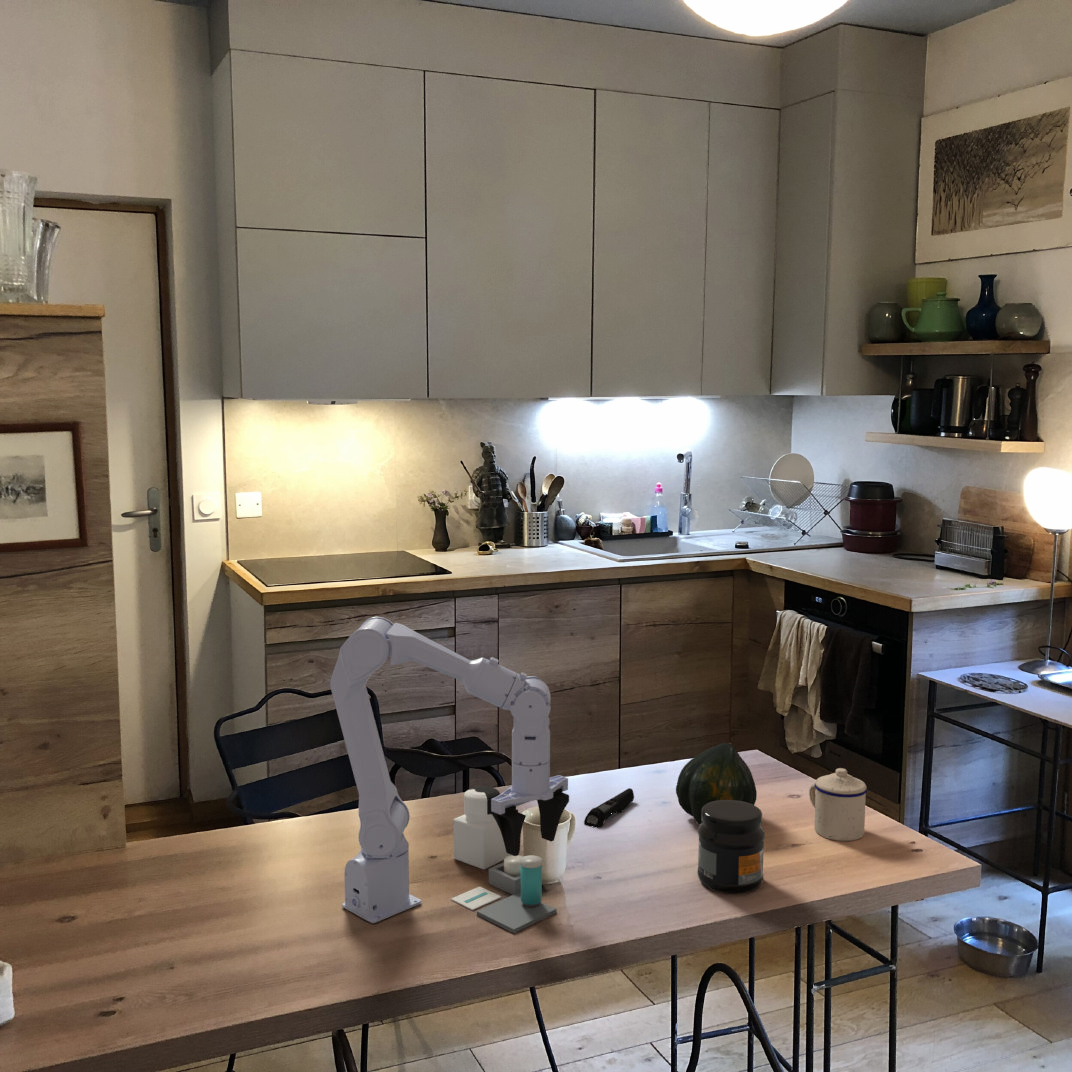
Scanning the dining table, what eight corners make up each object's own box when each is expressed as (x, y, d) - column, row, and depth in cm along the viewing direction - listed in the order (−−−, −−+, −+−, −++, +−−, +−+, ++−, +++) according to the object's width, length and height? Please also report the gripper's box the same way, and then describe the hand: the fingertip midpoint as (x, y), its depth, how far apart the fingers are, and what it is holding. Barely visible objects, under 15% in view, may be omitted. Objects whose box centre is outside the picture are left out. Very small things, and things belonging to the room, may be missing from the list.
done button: (514, 882, 170) (515, 866, 170) (499, 875, 173) (499, 859, 172) (531, 875, 173) (531, 859, 172) (515, 868, 175) (515, 853, 175)
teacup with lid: (876, 836, 192) (879, 773, 191) (838, 846, 188) (841, 781, 186) (827, 813, 202) (830, 753, 201) (791, 822, 198) (793, 761, 197)
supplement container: (777, 886, 172) (779, 814, 171) (726, 902, 167) (728, 827, 165) (733, 862, 181) (734, 793, 180) (683, 876, 176) (685, 805, 174)
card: (472, 910, 164) (472, 908, 164) (450, 899, 167) (450, 898, 167) (501, 897, 168) (501, 896, 168) (479, 887, 171) (479, 886, 171)
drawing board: (513, 933, 157) (513, 929, 157) (476, 914, 162) (476, 911, 162) (556, 912, 163) (556, 908, 163) (519, 895, 169) (519, 891, 169)
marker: (531, 910, 162) (531, 866, 162) (515, 903, 165) (515, 859, 164) (546, 903, 165) (546, 859, 164) (531, 896, 167) (531, 853, 166)
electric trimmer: (639, 805, 208) (639, 789, 208) (600, 830, 195) (600, 813, 195) (622, 801, 210) (622, 785, 210) (582, 826, 197) (582, 809, 197)
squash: (658, 800, 194) (715, 743, 191) (666, 776, 209) (720, 722, 205) (716, 857, 193) (775, 800, 189) (720, 828, 207) (775, 775, 204)
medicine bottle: (481, 845, 188) (480, 779, 186) (512, 856, 183) (512, 788, 182) (452, 859, 182) (452, 790, 181) (484, 870, 178) (483, 800, 176)
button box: (514, 895, 169) (514, 880, 168) (488, 883, 173) (488, 868, 173) (541, 883, 173) (541, 868, 173) (515, 872, 177) (515, 857, 177)
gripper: (514, 778, 154) (514, 868, 156) (583, 755, 164) (582, 840, 166) (481, 766, 159) (481, 854, 161) (549, 744, 169) (549, 827, 171)
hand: (530, 846), depth 164 cm, fingers open, 7 cm apart
